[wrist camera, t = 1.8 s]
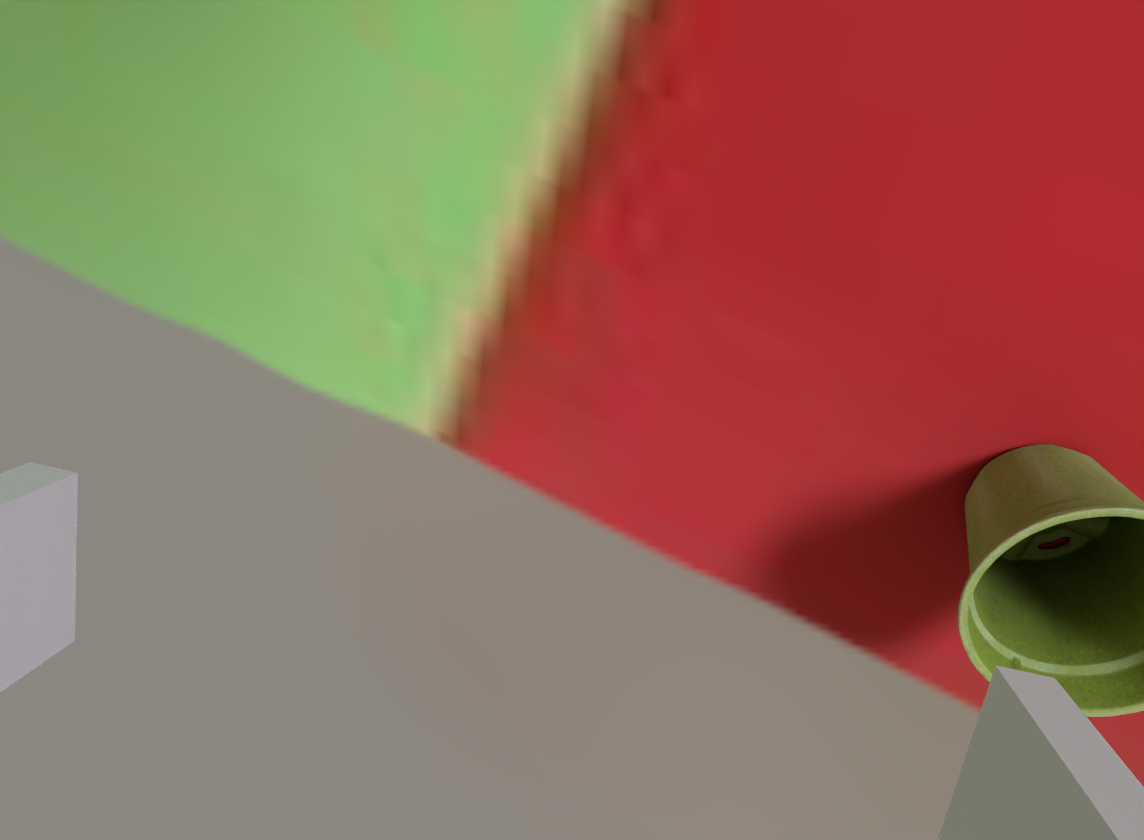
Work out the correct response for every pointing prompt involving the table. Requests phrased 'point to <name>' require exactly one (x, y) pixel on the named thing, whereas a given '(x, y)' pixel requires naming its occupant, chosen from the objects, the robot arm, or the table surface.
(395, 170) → the table surface
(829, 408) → the table surface
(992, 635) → the plant pot
